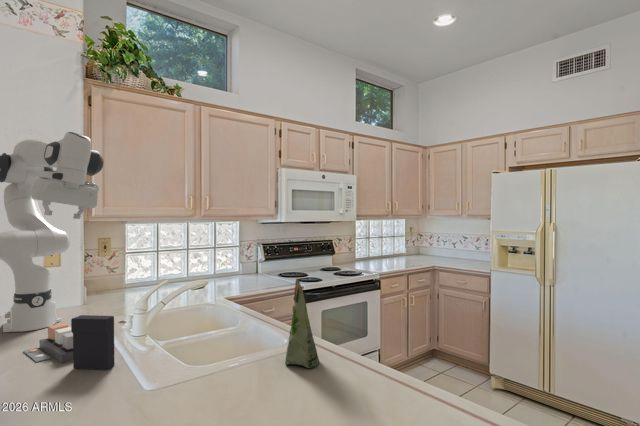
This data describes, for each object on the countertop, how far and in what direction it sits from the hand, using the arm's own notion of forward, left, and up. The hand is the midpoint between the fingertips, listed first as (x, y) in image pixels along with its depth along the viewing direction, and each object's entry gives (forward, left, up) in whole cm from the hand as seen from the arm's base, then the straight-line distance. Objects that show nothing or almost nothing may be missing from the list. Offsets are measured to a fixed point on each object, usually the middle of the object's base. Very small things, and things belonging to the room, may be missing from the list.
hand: (62, 217), depth 127 cm
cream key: (+7, -2, -41) cm, 42 cm away
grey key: (+14, -2, -41) cm, 44 cm away
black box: (+29, -1, -45) cm, 53 cm away
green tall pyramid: (+76, +38, -45) cm, 96 cm away
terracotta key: (0, -2, -41) cm, 41 cm away
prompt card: (+4, -9, -44) cm, 45 cm away
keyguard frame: (+7, -2, -44) cm, 45 cm away
